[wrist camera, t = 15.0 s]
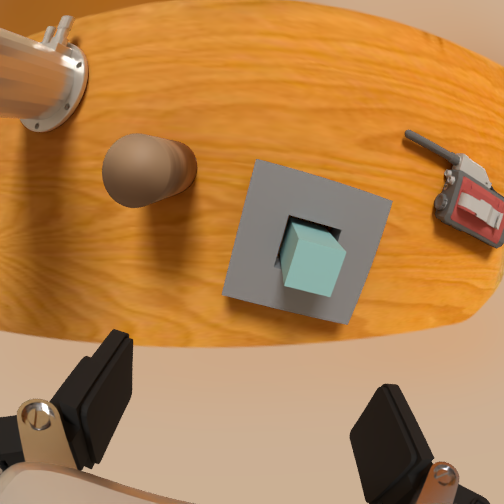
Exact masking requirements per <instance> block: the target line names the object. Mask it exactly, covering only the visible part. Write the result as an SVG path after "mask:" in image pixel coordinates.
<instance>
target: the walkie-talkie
mask: <svg viewBox="0 0 504 504" xmlns="http://www.w3.org/2000/svg"><path fill="white" fill-rule="evenodd" d="M405 137H406V138H408V139H410V140H412V141H414V142H416V143H418V144H419V145H421V146H423V147H425V148H427V149H429V150H431V151H432V152H434V153H436V154H438V155H440V156H441V157H443V158H445V159H447V160H448V162H450V163H451V164H453V166H452V169H451V170H446V171H445V173H444V174H445V176H446V177H447V178H446V181H445V184H444V188H443V191H442V193H440V194H439V195H438V196H437V197H436V199H435V208H436V212H435V216H436V218H438V219H440V220H441V222H443V223H445V224H447V225H452V227H453V228H455V229H457V230H459V231H464V232H466V233H468V234H470V235H471V236H473V237H475V238H477V239H479V240H481V241H482V242H484V243H486V244H488V245H490V246H492V247H494V248H498V247H501V246H502V245H503V244H504V197H503V196H501V195H500V194H499V193H497V192H496V191H495V190H494V189H493V187H492V186H491V184H492V183H490V181H489V178H488V176H487V173H486V171H485V169H484V168H483V167H481V166H480V165H478V164H477V163H475V162H474V161H472V160H471V159H469V158H468V156H467V155H465V154H463V153H456V154H455V153H453V152H449V151H447V150H446V149H444V148H442V147H440V146H439V145H437V144H435V143H433V142H432V141H430V140H428V139H426V138H424V137H422V136H420V135H419V134H417V133H415V132H413V131H411V130H406V131H405Z"/></svg>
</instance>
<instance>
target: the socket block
mask: <svg viewBox="0 0 504 504" xmlns="http://www.w3.org/2000/svg"><path fill="white" fill-rule="evenodd" d="M392 202H393V201H391V200H388V199H385V198H382V197H380V196H377V195H374V194H371V193H368V192H365V191H362V190H360V189H357V188H354V187H351V186H347V185H344V184H341V183H338V182H335V181H332V180H329V179H326V178H322V177H319V176H316V175H312V174H309V173H306V172H302V171H299V170H295V169H292V168H288V167H285V166H281V165H277V164H274V163H270V162H266V161H262V160H259V159H256V162H255V166H254V170H253V173H252V177H251V181H250V185H249V189H248V192H247V196H246V200H245V204H244V208H243V212H242V216H241V220H240V223H239V227H238V231H237V235H236V239H235V243H234V247H233V251H232V255H231V259H230V263H229V267H228V271H227V275H226V279H225V283H224V287H223V292H222V295H224V296H228V297H232V298H236V299H240V300H244V301H247V302H251V303H255V304H259V305H263V306H268V307H272V308H276V309H280V310H284V311H288V312H293V313H297V314H301V315H305V316H310V317H314V318H319V319H323V320H328V321H332V322H337V323H342V324H346V325H348V323H349V320H350V318H351V316H352V313H353V311H354V308H355V306H356V304H357V301H358V299H359V296H360V294H361V291H362V289H363V286H364V283H365V281H366V278H367V276H368V273H369V270H370V268H371V265H372V262H373V259H374V257H375V254H376V251H377V248H378V245H379V242H380V239H381V236H382V233H383V230H384V227H385V224H386V221H387V218H388V215H389V212H390V208H391V205H392ZM289 215H291V216H295V217H298V218H302V219H306V220H309V221H313V222H316V223H320V224H323V225H326V226H330V227H332V228H331V231H330V234H331V235H332V236H333V237H334V238H335V239H336V241H337V242H338V243H339V244H340V245H341V246H342V247H343V249H344V250H345V251H346V255H345V258H344V261H343V264H342V266H341V269H340V272H339V275H338V278H337V280H336V283H335V286H334V289H333V291H332V294H331V297H327V296H323V295H319V294H315V293H311V292H307V291H303V290H299V289H295V288H291V287H287V286H284V281H283V274H282V267H281V260H280V257H277V254H278V251H279V247H280V244H281V240H282V237H283V234H284V230H285V227H286V223H287V220H288V216H289Z"/></svg>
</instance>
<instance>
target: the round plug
mask: <svg viewBox="0 0 504 504" xmlns="http://www.w3.org/2000/svg"><path fill="white" fill-rule="evenodd" d="M196 173H197V161H196V158H195V155H194V153H193V152H192V150H191V149H190V148H189V147H188V146H186V145H185V144H183V143H181V142H177V141H173V140H168V139H164V138H159V137H154V136H150V135H145V134H130V135H126V136H124V137H122V138H120V139H119V140H117V141H116V142H115V143H114V144H113V145H112V146H111V147H110V149H109V150H108V152H107V154H106V156H105V159H104V162H103V168H102V176H103V182H104V185H105V188H106V190H107V192H108V193H109V195H110V196H111V197H112V198H113V199H114V200H115V201H116V202H117V203H119V204H121V205H123V206H126V207H130V208H139V207H143V206H146V205H149V204H151V203H154V202H157V201H159V200H162V199H165V198H167V197H170V196H173V195H176V194H178V193H181V192H183V191H185V190H186V189H187V188H188V187H189V186H190V185H191V184H192V182H193V181H194V179H195V176H196Z"/></svg>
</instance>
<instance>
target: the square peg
mask: <svg viewBox="0 0 504 504" xmlns="http://www.w3.org/2000/svg"><path fill="white" fill-rule="evenodd" d="M279 252H280V260H281V267H282V274H283V281H284V286H287V287H291V288H295V289H299V290H303V291H307V292H311V293H315V294H319V295H323V296H327V297H331V294H332V291H333V289H334V286H335V283H336V280H337V278H338V275H339V272H340V269H341V266H342V264H343V261H344V258H345V255H346V251H345V250H344V249H343V247H342V246H341V245H340V244H339V243H338V242H337V241H336V239H335V238H334V237H333V236H332V235H331V234H330V233H329V231H328V230H327V229H326V228H325V227H324V226H320V225H317V224H313V223H310V222H306V221H303V220H299V219H296V218H292V217H289V220H288V223H287V227H286V230H285V234H284V237H283V240H282V244H281V247H280V251H279Z"/></svg>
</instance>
